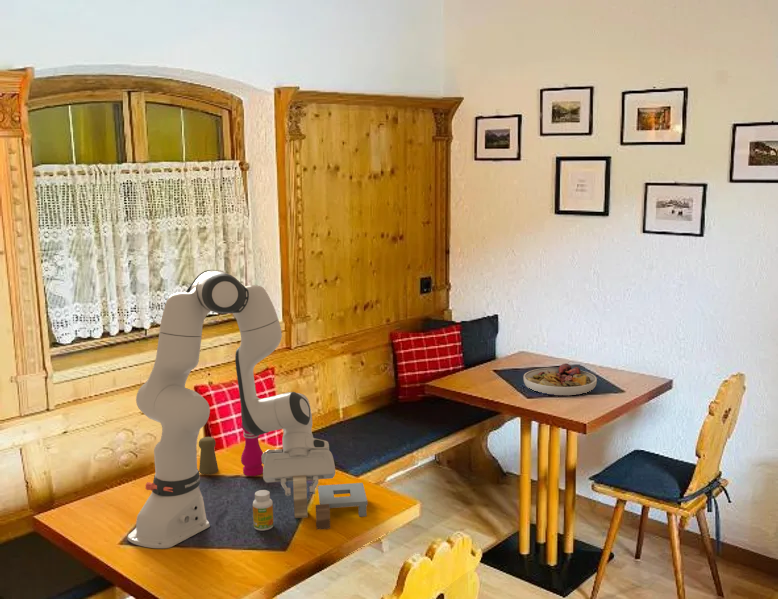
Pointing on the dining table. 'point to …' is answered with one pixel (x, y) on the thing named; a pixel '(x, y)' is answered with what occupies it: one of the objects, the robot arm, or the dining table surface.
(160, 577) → the dining table surface
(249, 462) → the pepper mill
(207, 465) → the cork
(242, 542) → the dining table surface
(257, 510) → the supplement bottle
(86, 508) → the dining table surface
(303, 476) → the maple peg
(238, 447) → the dining table surface
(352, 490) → the collar stand
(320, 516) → the walnut peg
